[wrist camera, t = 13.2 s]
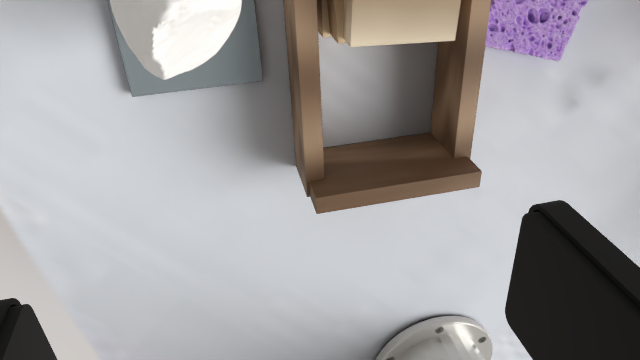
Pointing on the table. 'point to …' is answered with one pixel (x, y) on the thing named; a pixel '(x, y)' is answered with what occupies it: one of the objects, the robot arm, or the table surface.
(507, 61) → the table surface
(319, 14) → the offcut stack
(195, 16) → the white tall rounded lump
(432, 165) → the rack
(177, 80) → the mat
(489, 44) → the sponges
